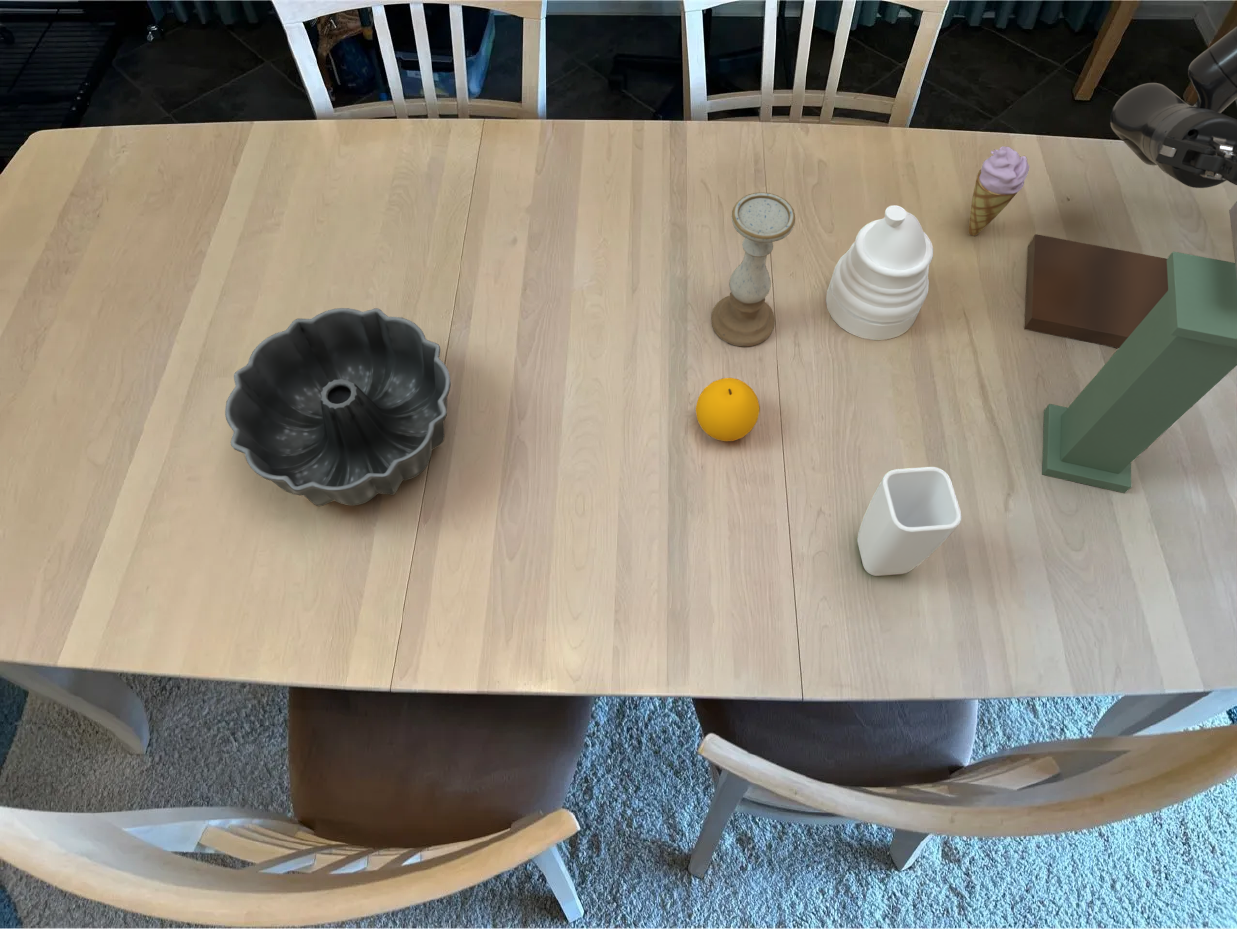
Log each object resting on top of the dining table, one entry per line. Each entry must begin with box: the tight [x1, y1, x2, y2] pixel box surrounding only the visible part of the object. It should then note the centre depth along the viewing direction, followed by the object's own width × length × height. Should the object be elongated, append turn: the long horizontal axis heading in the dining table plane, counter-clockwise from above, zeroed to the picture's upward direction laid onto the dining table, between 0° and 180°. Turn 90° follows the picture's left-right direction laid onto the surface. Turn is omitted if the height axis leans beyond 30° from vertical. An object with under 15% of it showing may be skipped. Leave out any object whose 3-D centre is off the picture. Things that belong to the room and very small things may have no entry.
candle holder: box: [710, 191, 796, 347], centre depth 108 cm, size 9×9×20 cm
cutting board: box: [1023, 233, 1168, 349], centre depth 118 cm, size 20×16×2 cm
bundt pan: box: [224, 307, 452, 507], centre depth 104 cm, size 26×26×10 cm
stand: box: [1041, 251, 1237, 494], centre depth 94 cm, size 10×10×30 cm
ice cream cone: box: [967, 145, 1030, 237], centre depth 119 cm, size 7×6×15 cm
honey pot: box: [825, 204, 934, 341], centre depth 111 cm, size 13×13×18 cm
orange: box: [695, 377, 761, 442], centre depth 106 cm, size 8×8×8 cm
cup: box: [856, 466, 962, 577], centre depth 94 cm, size 7×7×15 cm
